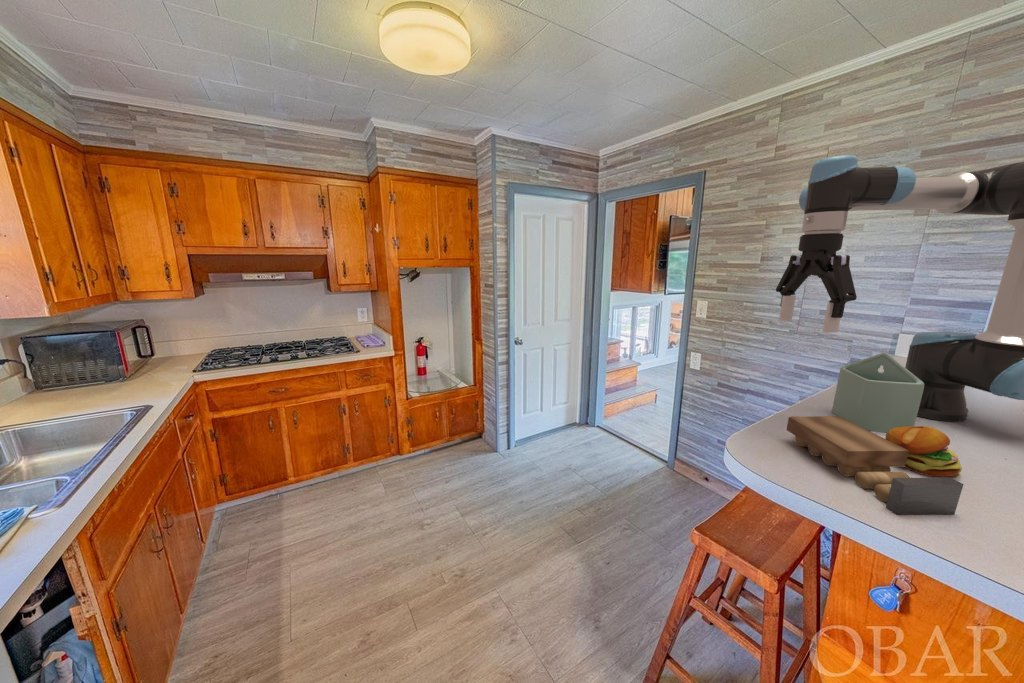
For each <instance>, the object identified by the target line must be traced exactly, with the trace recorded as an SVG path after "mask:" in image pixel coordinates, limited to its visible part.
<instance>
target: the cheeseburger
mask: <svg viewBox="0 0 1024 683" xmlns="http://www.w3.org/2000/svg"><path fill="white" fill-rule="evenodd" d="M884 439H886V440H888V441H890V442H892V443H894V444H896V445H898V446H900V447H902V448H904V449H907V450H909V453H908V457H907V460H906V464H905V467H904V468H907V469H908V470H910V471H913V472H915V473H918V474H921V475H925V476H930V477H953V476H956V475H958V474H959V473H961V472H962V470H963V467H962V466H961V461H960V458H959V457H958V455H957V453H955V452H954V451H952V450H950V449H949V447H948V446H950V445H951V439H950V438H949V436H948V435H947V434H945V433H944V432H943V431H941V430H939V429H937V428H935V427H932V426H925V425H924V426H919V425H917V426H916V425H914V427H897V428H893V429H891V430H889V431H888V433H886V435H885V438H884Z"/></svg>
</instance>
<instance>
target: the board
mask: <svg viewBox="0 0 1024 683" xmlns="http://www.w3.org/2000/svg"><path fill="white" fill-rule="evenodd" d="M786 431H787V432H789V433H791V434H792V435H793V436H794V437H795V436H797V437H798V438H800V439H801V440H803V441H804V442H806V443H808V444H809V445H811V446H812V447H814V448H815V449H817V450H818V451H820V452H822V453H823V454H825V455H826V456H828V457H829V458H831V459H833V460H834V461H836V462H837V463H839V464H840V465H842V466H843V467H890V468H891V467H893V468H894V467H895V468H896V467H898V468H901V467H903V468H906V467H905V464H906V460H907V457H908V453H909V450H907V449H904V448H902V447H900V446H898V445H896V444H894V443H892V442H890V441H888V440H886V439H885V438H884V437H882V436H880V435H878V434H876V433H874V432H873V431H868V430H866V429H864V428H862V427H860V426H858V425H856V424H854V423H852V422H850V421H848V420H846V419H844V418H842V417H840V416H836V415H829V416H825V415H821V416H820V415H819V416H818V415H817V416H815V415H813V416H788V420H787V424H786Z"/></svg>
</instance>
